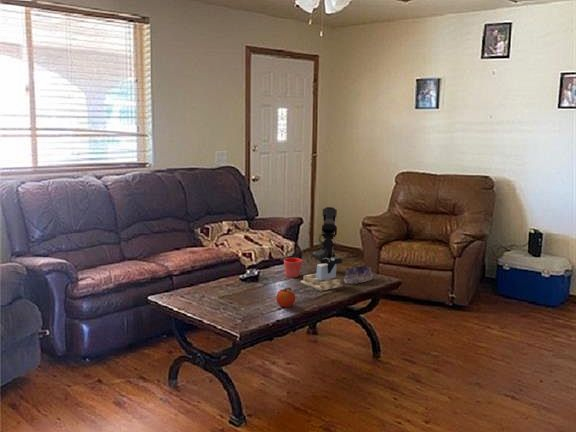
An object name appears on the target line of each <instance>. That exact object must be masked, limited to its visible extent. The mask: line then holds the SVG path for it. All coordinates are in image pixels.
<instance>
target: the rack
mask: <svg viewBox="0 0 576 432" xmlns="http://www.w3.org/2000/svg"><path fill="white" fill-rule="evenodd" d="M316 274H317V272H315V273H312V274H305V275H303V279H302V280H300V283H301V284H304V285H306V286H308V287H312V288H313V289H315V290H318V291H320V292H322V291H326V290H331V289H336V288H342V287H344V284H342V283H341V282H342V281H341V280H342V279H341V278H336V279H335V278H334V279H333V278H329V279H324V280H319V279H317V278H316Z"/></svg>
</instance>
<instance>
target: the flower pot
mask: <svg viewBox="0 0 576 432" xmlns="http://www.w3.org/2000/svg"><path fill="white" fill-rule="evenodd" d="M302 262H303V260H302V258H298V257H286V258H284V259H283V264H284V265H283V266H284V272H285V276H286V277H288V278H298V277H299V275H300V273H301V267H302V264H303V263H302Z"/></svg>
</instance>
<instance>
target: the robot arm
mask: <svg viewBox="0 0 576 432" xmlns="http://www.w3.org/2000/svg"><path fill="white" fill-rule="evenodd" d="M337 213H338V210H337V209H336V208H335V207H332V206H326V207H324V208H322V214H321V215H322V216H321V217H323V224H322V225H321V237H322V246H320V249H319V250H317V251H314V252H313V253H312V257H313V258H314V259H315V260H317V261H318V262H320V263H319V264H323V263H327V264H328V273H330V272H331V271H332V269H333V267H334V265H335V264H337V265H338V264H342V263H343V258H342V257H340V256H336V253H335V252H334V250H335V249H336V247H334V240H335V239H334V238H336V235H337V233H338V228H337V225H336V218H337V215H338V214H337Z"/></svg>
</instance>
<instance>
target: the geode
mask: <svg viewBox="0 0 576 432" xmlns="http://www.w3.org/2000/svg"><path fill="white" fill-rule="evenodd" d="M345 271H346V272H345V273H344V280H343V283H344V284H346V285H357V284H360V283H366V282H369V281H371V280H373V272H372V267H371V266H369V265H358V266H356V267H352V268H349V267H346V269H345Z"/></svg>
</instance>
